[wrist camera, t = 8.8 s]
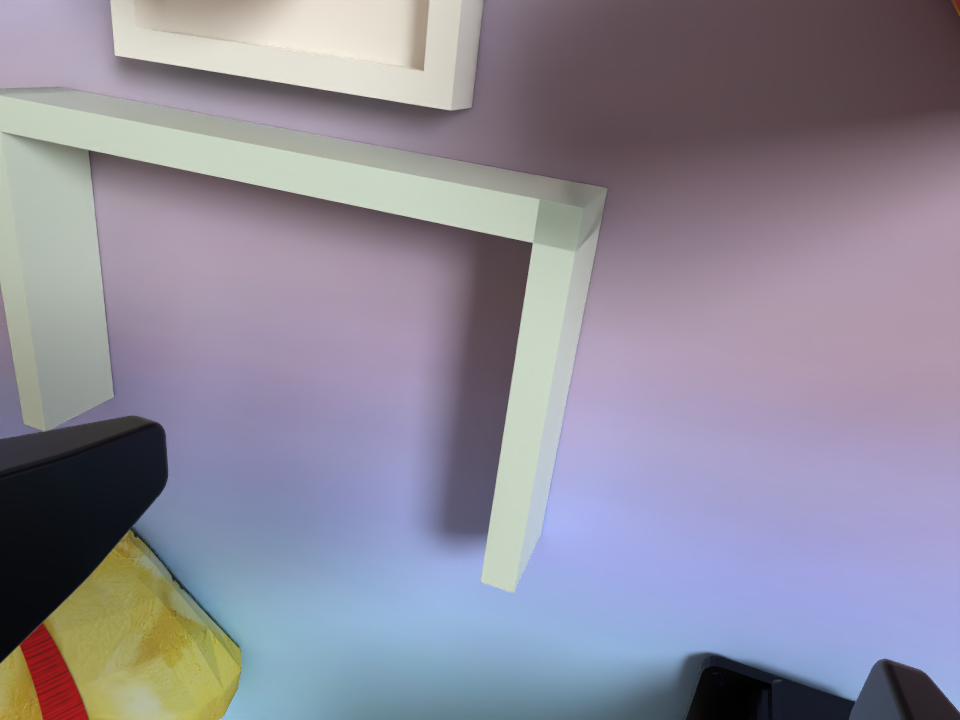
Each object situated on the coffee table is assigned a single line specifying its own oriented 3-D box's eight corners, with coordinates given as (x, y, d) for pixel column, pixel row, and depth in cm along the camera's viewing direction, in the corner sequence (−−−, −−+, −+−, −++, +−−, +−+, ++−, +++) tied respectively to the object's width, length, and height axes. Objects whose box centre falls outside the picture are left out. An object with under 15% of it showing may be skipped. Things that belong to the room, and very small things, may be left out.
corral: (541, 533, 23) (513, 592, 20) (93, 390, 28) (24, 424, 25) (607, 188, 18) (583, 207, 16) (57, 87, 23) (-32, 89, 20)
